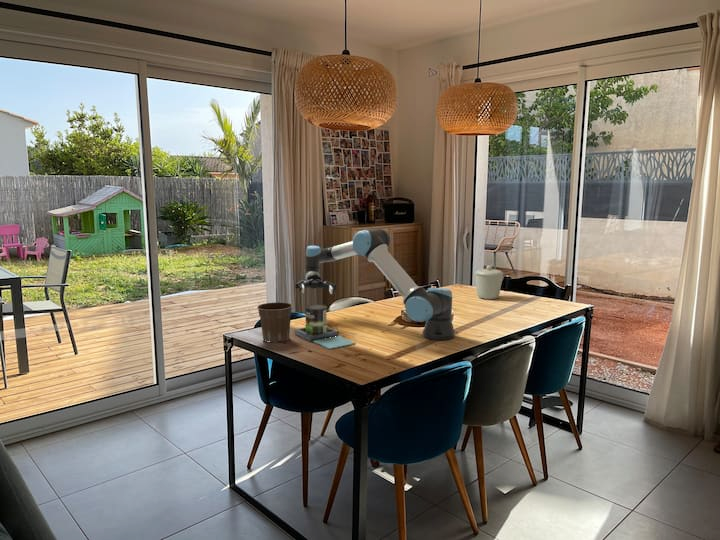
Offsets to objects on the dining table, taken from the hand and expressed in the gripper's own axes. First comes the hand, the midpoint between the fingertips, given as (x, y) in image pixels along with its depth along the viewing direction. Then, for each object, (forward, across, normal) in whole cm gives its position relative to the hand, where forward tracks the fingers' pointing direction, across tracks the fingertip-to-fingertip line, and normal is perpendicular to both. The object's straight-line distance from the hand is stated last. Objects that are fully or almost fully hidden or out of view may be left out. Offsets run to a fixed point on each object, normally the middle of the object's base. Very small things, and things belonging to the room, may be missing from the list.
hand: (317, 291), depth 259 cm
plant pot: (+8, +19, -22) cm, 30 cm away
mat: (+19, -7, -19) cm, 28 cm away
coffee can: (+5, 0, -21) cm, 22 cm away
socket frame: (+4, 0, -21) cm, 21 cm away
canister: (-62, -117, -18) cm, 134 cm away
